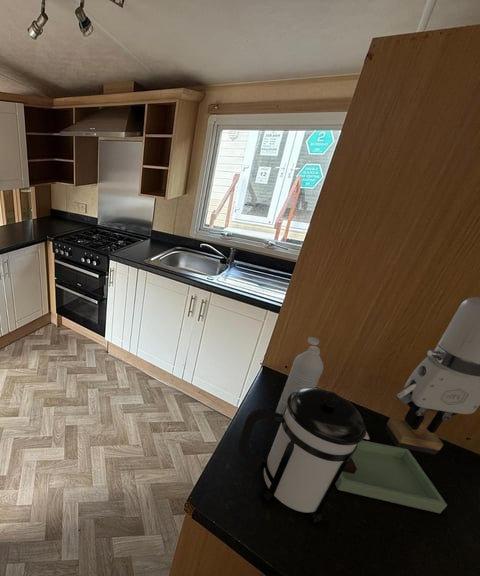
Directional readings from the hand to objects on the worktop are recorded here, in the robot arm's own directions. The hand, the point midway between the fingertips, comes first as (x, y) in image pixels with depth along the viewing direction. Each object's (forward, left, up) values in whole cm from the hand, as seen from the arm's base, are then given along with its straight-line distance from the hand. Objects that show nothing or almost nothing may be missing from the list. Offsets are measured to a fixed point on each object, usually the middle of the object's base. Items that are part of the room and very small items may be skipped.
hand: (418, 425), depth 68 cm
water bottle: (+19, -13, -17) cm, 28 cm away
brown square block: (+10, +1, -16) cm, 19 cm away
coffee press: (+26, +11, -17) cm, 32 cm away
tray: (+4, +1, -17) cm, 17 cm away
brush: (0, 0, -5) cm, 5 cm away
